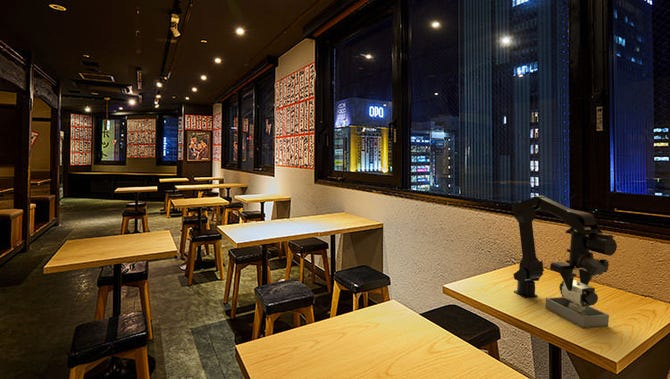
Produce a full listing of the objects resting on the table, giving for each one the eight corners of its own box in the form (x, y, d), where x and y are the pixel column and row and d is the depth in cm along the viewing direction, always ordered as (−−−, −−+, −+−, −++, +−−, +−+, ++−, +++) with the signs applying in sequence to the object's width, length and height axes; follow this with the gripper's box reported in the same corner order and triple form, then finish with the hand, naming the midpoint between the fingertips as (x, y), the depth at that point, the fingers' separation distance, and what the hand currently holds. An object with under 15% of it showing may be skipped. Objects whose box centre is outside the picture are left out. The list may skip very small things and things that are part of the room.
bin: (545, 308, 131) (545, 298, 131) (567, 306, 133) (568, 296, 132) (582, 328, 115) (583, 317, 115) (608, 326, 117) (609, 315, 117)
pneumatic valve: (569, 305, 130) (569, 275, 129) (597, 319, 119) (598, 286, 118) (556, 307, 129) (557, 276, 128) (584, 321, 118) (585, 288, 117)
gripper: (577, 255, 112) (573, 301, 114) (624, 253, 116) (620, 297, 117) (550, 246, 123) (547, 288, 125) (593, 245, 127) (590, 285, 128)
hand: (576, 290), depth 123 cm, fingers closed on pneumatic valve, 5 cm apart
